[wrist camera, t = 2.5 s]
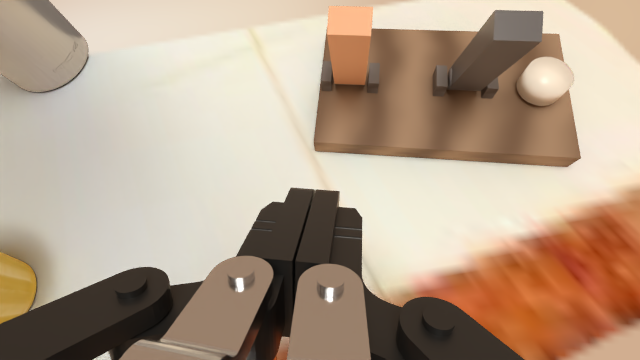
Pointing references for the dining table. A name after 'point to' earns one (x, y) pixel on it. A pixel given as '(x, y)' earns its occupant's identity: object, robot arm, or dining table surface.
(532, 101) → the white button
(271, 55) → the dining table surface
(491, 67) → the long grey beam
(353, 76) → the orange block
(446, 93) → the switch board
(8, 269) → the plant pot
